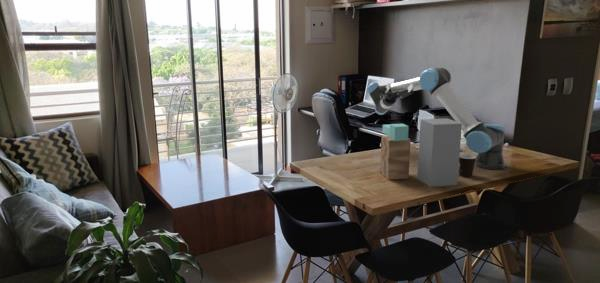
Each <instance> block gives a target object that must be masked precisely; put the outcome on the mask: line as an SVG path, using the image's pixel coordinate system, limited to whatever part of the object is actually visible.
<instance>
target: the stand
mask: <svg viewBox="0 0 600 283" xmlns="http://www.w3.org/2000/svg"><path fill="white" fill-rule="evenodd" d="M461 139H462V123H459V122H456V121H455V120H454V119H450V118H447V117H446V118H425V119H423V118H422V119H420V126H419V144H418V145H419V149H418V159H417V160H418V162H417V179H418V180H420V181H421V182H422V183H423V184H426V185H427V187H429V188H432V187H434V188H435V187H447V186H448V187H449V186H457V185H458V180H459V178H458V177H459V155H461V152H460V151H461Z"/></svg>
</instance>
